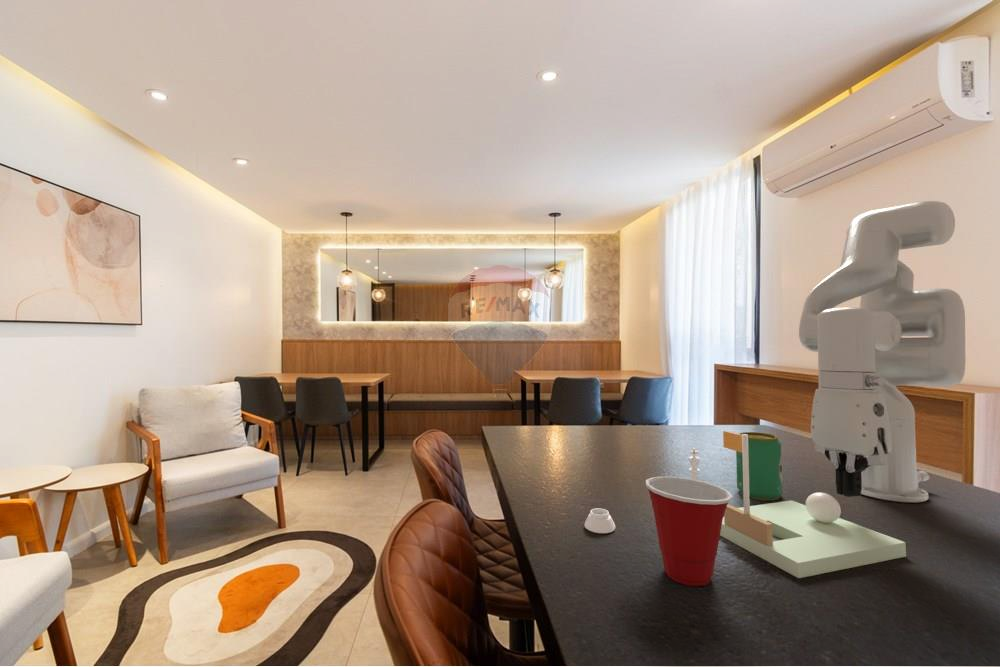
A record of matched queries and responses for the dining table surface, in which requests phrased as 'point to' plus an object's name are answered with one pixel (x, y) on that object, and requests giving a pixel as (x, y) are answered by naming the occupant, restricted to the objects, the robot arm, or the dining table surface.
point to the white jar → (599, 521)
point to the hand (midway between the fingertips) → (848, 494)
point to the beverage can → (762, 466)
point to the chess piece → (694, 464)
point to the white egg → (823, 507)
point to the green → (800, 532)
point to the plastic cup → (688, 526)
